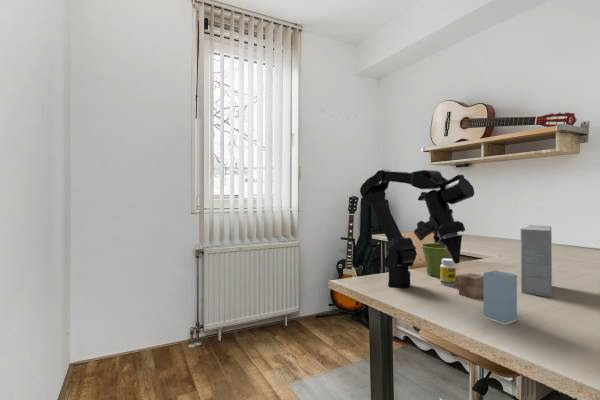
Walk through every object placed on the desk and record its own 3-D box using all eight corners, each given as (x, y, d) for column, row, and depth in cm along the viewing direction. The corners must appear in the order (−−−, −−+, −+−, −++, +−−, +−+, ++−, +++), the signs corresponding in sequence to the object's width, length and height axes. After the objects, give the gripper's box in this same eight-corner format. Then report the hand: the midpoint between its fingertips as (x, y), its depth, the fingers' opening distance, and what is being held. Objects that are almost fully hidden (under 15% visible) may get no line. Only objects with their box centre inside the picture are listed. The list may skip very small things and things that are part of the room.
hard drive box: (523, 281, 106) (523, 224, 106) (551, 285, 101) (552, 225, 101) (519, 292, 94) (520, 228, 94) (552, 298, 89) (552, 229, 89)
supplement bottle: (449, 286, 101) (449, 261, 101) (437, 283, 105) (437, 258, 105) (458, 284, 103) (458, 260, 103) (446, 281, 107) (446, 257, 107)
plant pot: (414, 272, 120) (414, 243, 120) (438, 270, 123) (438, 242, 123) (435, 280, 108) (435, 248, 108) (462, 277, 112) (462, 247, 112)
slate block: (483, 317, 75) (483, 272, 75) (495, 313, 78) (495, 270, 78) (505, 324, 71) (505, 277, 71) (516, 320, 73) (517, 274, 73)
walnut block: (458, 294, 93) (458, 274, 93) (469, 292, 95) (469, 273, 95) (474, 299, 88) (474, 278, 88) (485, 296, 91) (485, 276, 91)
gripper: (410, 222, 100) (425, 270, 95) (411, 210, 83) (429, 268, 78) (446, 213, 97) (463, 262, 92) (454, 199, 80) (476, 258, 75)
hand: (457, 263), depth 84 cm, fingers closed
